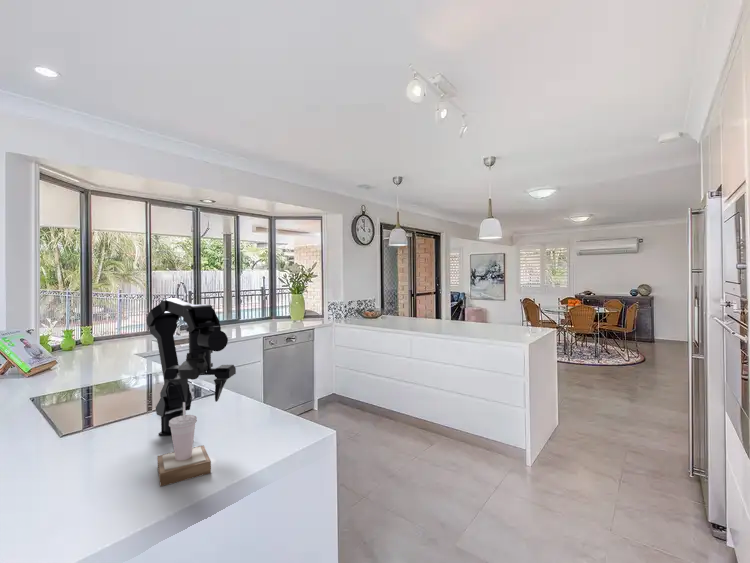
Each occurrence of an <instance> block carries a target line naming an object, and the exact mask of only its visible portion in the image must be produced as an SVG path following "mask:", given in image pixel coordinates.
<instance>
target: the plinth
mask: <svg viewBox="0 0 750 563" xmlns="http://www.w3.org/2000/svg"><path fill="white" fill-rule="evenodd" d="M211 463H212V462H211V458H210V457H209V454H208V452H207V449H206V447H205V445H199V446H196V447H194V446H193V448H192V456H191V457H190V458H189V459H186V460H181V461H179V460H176V459H175V453H174V451H172V452H168V453H163V454H160V455H157V472H158V477H159V478H158V479H159V485H160V487H163V486H164V487H165V486H167V485H171V484H174V483H176V484H177V483H179V482H183V481H187V480H189V479H194V478H198V477H202V476H205V475H210V474H211V473H212V464H211Z"/></svg>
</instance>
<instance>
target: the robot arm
mask: <svg viewBox="0 0 750 563" xmlns="http://www.w3.org/2000/svg"><path fill="white" fill-rule="evenodd" d="M181 318H182V320H183V322H184V323H186V325H187V326H188V327H187V328H186V329H185V331H186V332H187V333H188V352H187V353H186V355H185V356H186V359H185V360H184V361H183V362H182V363H181V364H180V365H179V360H178V354H177V349H176V343H175V342H176V341H175V338H174V335H175V333H176V332H177V328H178V321H179V320H180V319H181ZM145 320H146V325H147V327H148V329H149V333H150V334H151V335H152V336H153V338H155V339H156V340H157V348H158V353H159V359H160V363H161V364H160V366H161V370H162V376H163V383H164V386H163V385H162V389H161V390H160V393H159V394H160V399H159V401H158V402H157V404H156V406H155V414H156V415H157V416H159V417H160V421H161V422H160V423H161V424H160V426H161V429H160V430H161V431H160V432H158V434H157V435H158V436H172V434H171V427H170V426H169V421H170V420H171V419H172V418H175V417H178V416H182V415H183V402H185V415H187V414H186V411H190V410H191V407H192V399H193V395H192V392H191V390H190V383H189V380H192V381H193V380H196V379H198V378H199V376H214V377H215V378H214V379H213V383H214V384H215V386H214V389H215V390H214V402H215V403H216V402H219V399H220V397H221V394H222V391H223V389H224V387H225V385H226V382H227V380H229V379H230V378H231V377H233V376H235V375H236V374H237V372H236V370H237V368H236V366H235V365H234V364H221V365H220V366H218V367H215V368H214V363H213V362H212V354H213V352H221V351H223V350H224V349H225V348H226V346H227V345H228V341H229V338H228V336H227V333H226V332H224V331H222V328H221V323H220V322H221V321H220V319H219V317H218V315H217V313H216V310H215V308H213V306H212V304H210V303H203V304H202V303H201V304H193V303H191V302H189V301H188V302H187V301H183V300H181V299H180V298H177V297H175V298H164V299H162V300H160V303H159V304H158V305H156V306H154V307H153V308H151V309H150V310H149V312H148V314H147V316H146V319H145Z"/></svg>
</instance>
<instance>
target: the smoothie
mask: <svg viewBox="0 0 750 563" xmlns="http://www.w3.org/2000/svg"><path fill="white" fill-rule="evenodd" d="M197 418H198V417H197V416H196V415H194V414H186V415H185V402H183V415H182V416H178V417H175V418H172V419H171V420H170V421H169V426H170V427H171V434H172V435H171V439H172V445H173V452H174V453H175V459H176V460H179V461H181V460H186V459H189V458H190V457H191V456H192V448H194V438H195V429H196V423H197V421H198V419H197Z"/></svg>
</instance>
